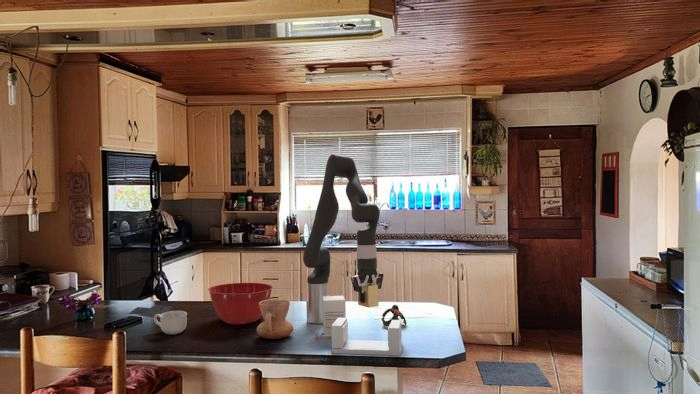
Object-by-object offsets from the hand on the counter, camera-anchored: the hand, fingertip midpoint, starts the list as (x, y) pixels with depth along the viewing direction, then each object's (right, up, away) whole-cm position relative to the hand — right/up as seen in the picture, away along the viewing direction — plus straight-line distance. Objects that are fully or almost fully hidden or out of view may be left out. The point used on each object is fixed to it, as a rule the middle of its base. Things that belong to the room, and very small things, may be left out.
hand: (368, 301), depth 202 cm
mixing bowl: (-56, -17, +38) cm, 69 cm away
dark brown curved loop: (+15, -15, +29) cm, 36 cm away
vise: (0, -16, -7) cm, 17 cm away
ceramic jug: (-37, -17, +11) cm, 42 cm away
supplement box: (-13, -16, +14) cm, 25 cm away
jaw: (-13, -14, -5) cm, 20 cm away
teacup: (-82, -17, +21) cm, 86 cm away
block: (0, -1, 0) cm, 1 cm away
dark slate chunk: (-101, -18, +53) cm, 116 cm away
